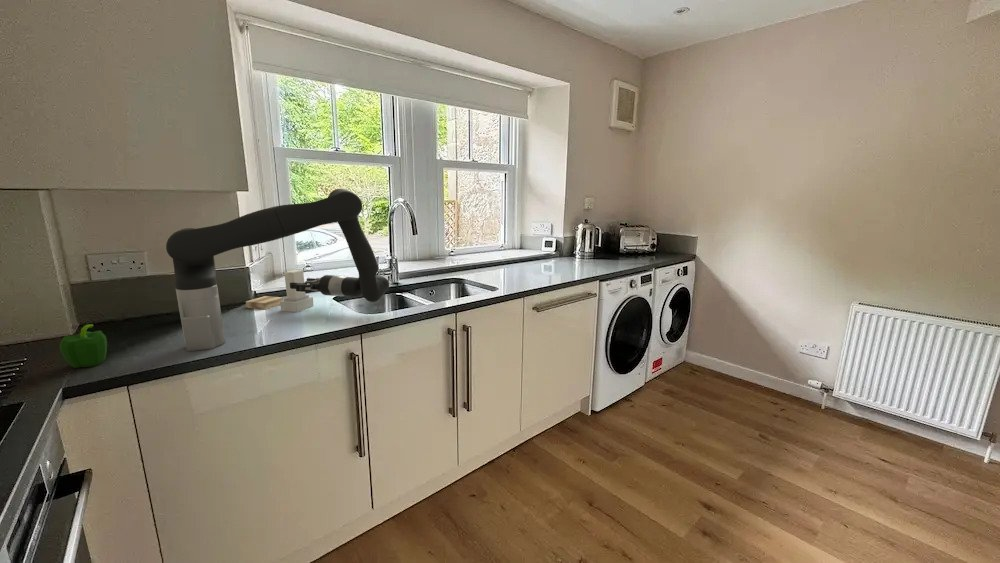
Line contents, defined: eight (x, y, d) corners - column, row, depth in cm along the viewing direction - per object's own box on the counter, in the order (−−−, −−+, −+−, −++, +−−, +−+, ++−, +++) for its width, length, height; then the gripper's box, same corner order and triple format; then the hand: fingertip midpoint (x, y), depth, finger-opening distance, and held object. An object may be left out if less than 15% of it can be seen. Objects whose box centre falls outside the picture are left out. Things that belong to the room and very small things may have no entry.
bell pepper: (79, 373, 94) (70, 333, 92) (57, 369, 97) (47, 330, 95) (121, 359, 102) (113, 323, 100) (99, 356, 105) (91, 320, 103)
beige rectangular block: (296, 312, 146) (295, 300, 145) (281, 310, 148) (279, 299, 147) (313, 305, 154) (312, 294, 153) (298, 304, 156) (297, 293, 155)
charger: (296, 301, 147) (293, 272, 145) (287, 300, 148) (284, 272, 146) (305, 298, 152) (303, 270, 150) (297, 297, 153) (294, 269, 151)
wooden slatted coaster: (283, 303, 158) (283, 297, 157) (265, 309, 149) (264, 303, 149) (265, 301, 160) (264, 296, 159) (246, 307, 151) (245, 301, 151)
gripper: (347, 272, 150) (311, 270, 154) (322, 279, 137) (283, 276, 141) (348, 291, 152) (313, 288, 156) (323, 300, 138) (285, 297, 142)
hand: (299, 283), depth 148 cm, fingers open, 8 cm apart
